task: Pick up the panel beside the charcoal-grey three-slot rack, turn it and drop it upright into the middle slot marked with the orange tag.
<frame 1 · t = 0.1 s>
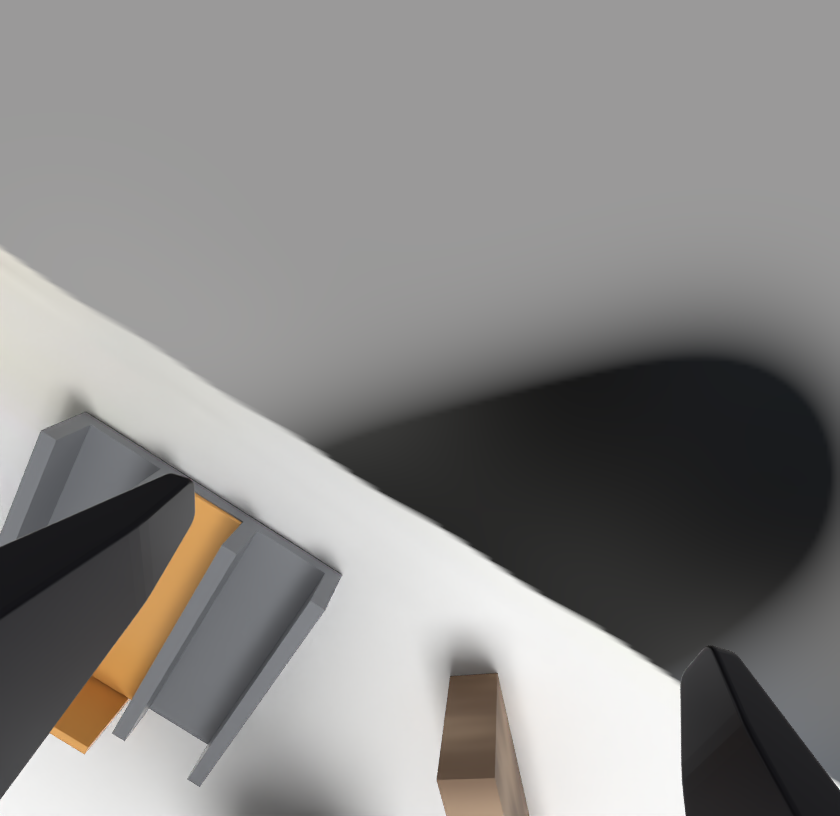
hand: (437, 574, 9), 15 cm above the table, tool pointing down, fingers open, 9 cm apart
rack: (161, 591, 30), on the table
panel: (494, 761, 31), on the table
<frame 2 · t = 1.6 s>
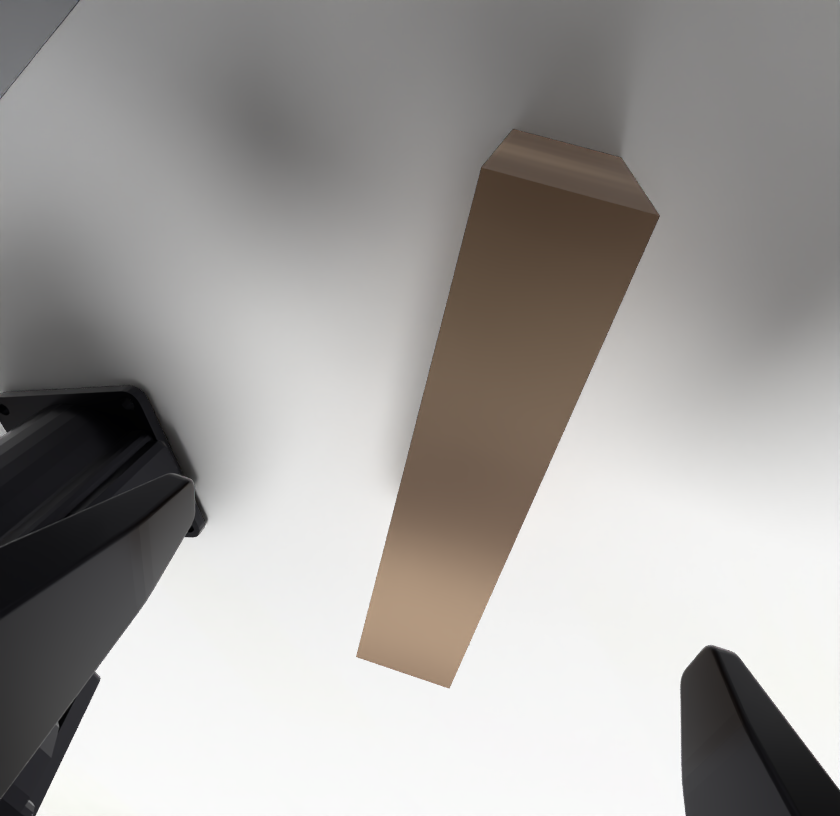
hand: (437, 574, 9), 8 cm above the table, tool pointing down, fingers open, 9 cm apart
panel: (492, 367, 16), on the table
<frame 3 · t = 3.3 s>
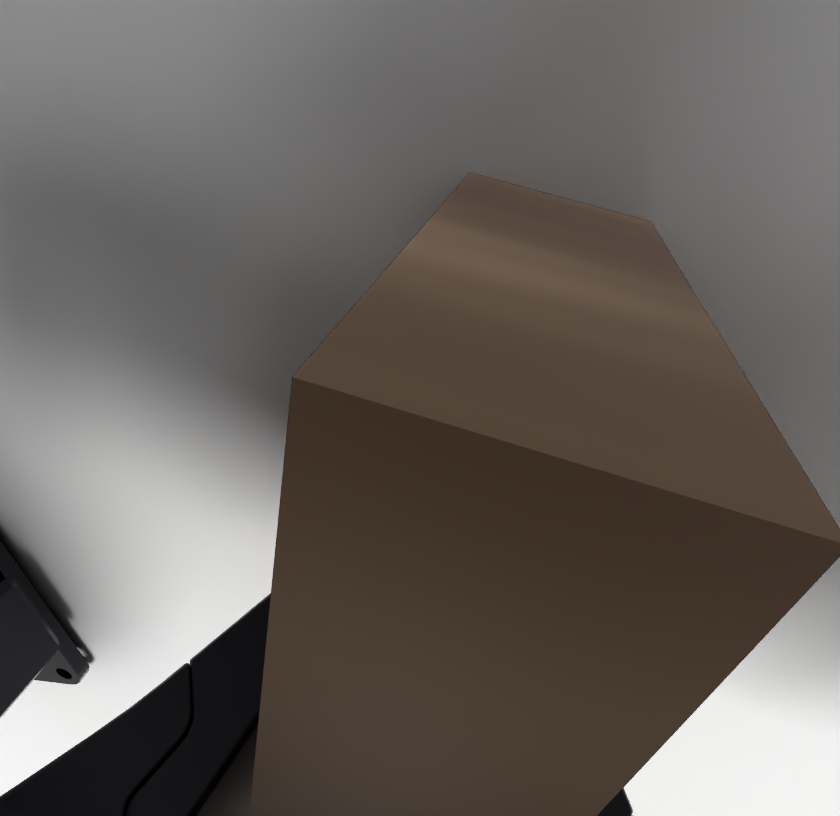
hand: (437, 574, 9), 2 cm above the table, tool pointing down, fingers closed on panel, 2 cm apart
panel: (452, 513, 11), on the table, touching gripper
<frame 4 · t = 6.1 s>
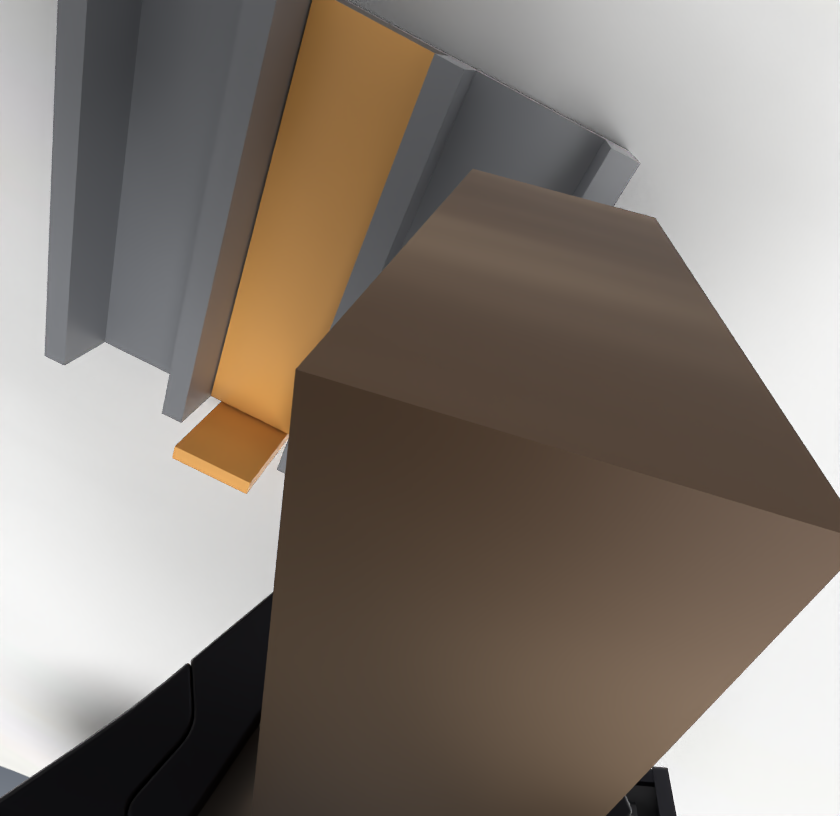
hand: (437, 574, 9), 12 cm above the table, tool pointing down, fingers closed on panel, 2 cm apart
rack: (313, 255, 19), on the table
panel: (454, 512, 11), point 10 cm above the table, touching gripper
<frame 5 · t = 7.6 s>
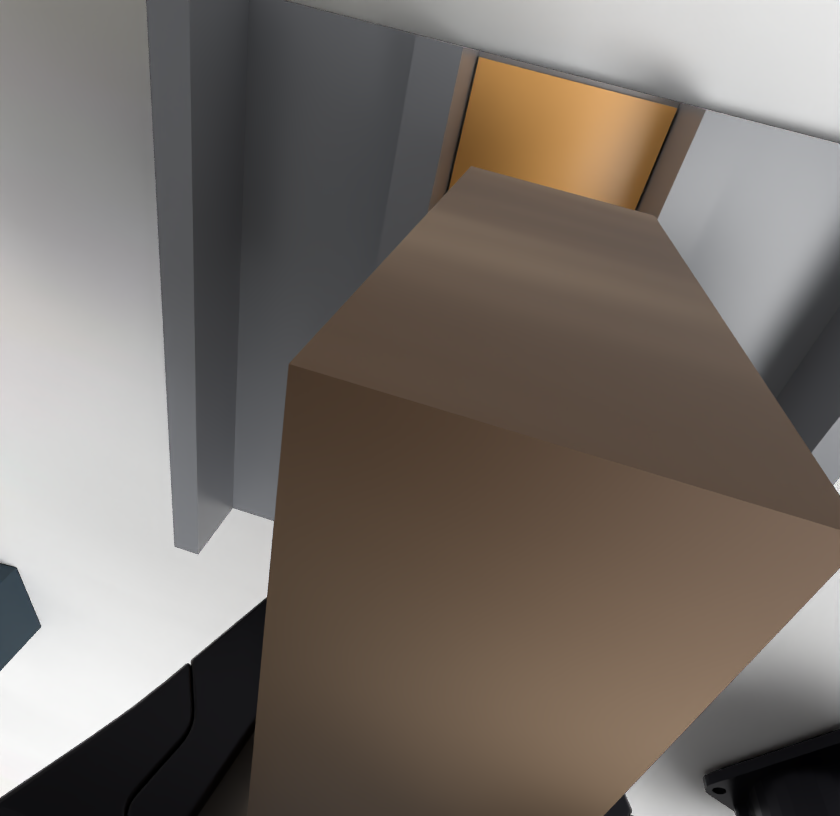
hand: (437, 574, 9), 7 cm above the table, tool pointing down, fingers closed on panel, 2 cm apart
rack: (480, 378, 15), on the table
panel: (452, 511, 11), point 5 cm above the table, touching gripper
when the fingers open (4 cm above the table, at t = 8.8 s): panel drops 1 cm, resting on rack.
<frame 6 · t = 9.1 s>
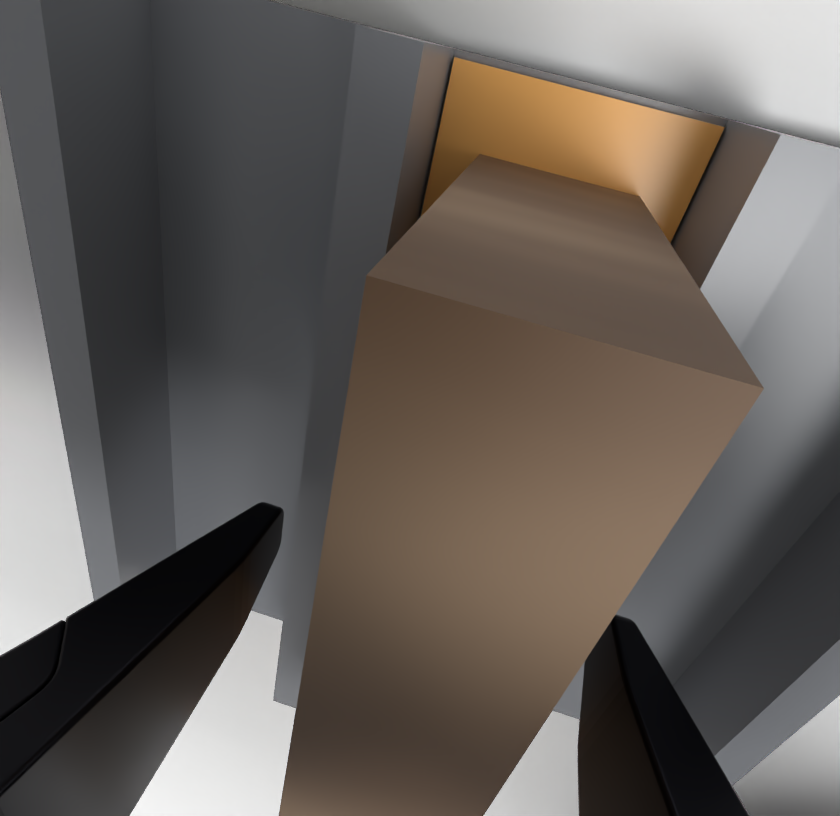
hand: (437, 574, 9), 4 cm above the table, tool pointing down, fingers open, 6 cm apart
rack: (465, 451, 12), on the table
panel: (461, 471, 12), point 1 cm above the table, touching rack
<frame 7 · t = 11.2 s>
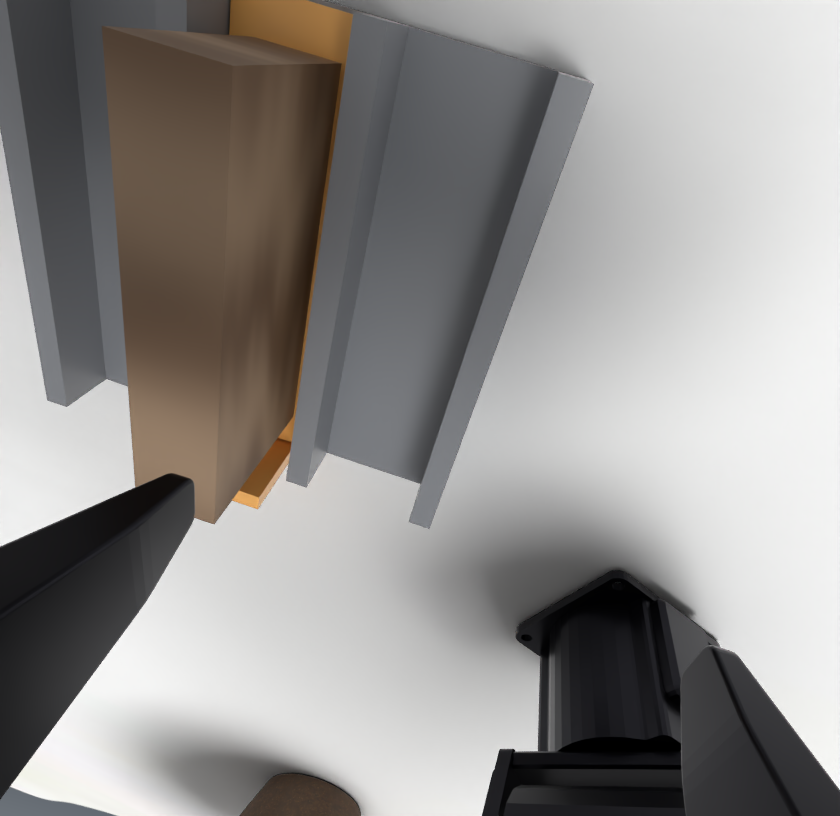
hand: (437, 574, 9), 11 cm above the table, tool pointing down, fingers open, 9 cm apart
rack: (286, 256, 19), on the table
panel: (277, 261, 18), point 1 cm above the table, touching rack
plant pot: (313, 794, 42), on the table
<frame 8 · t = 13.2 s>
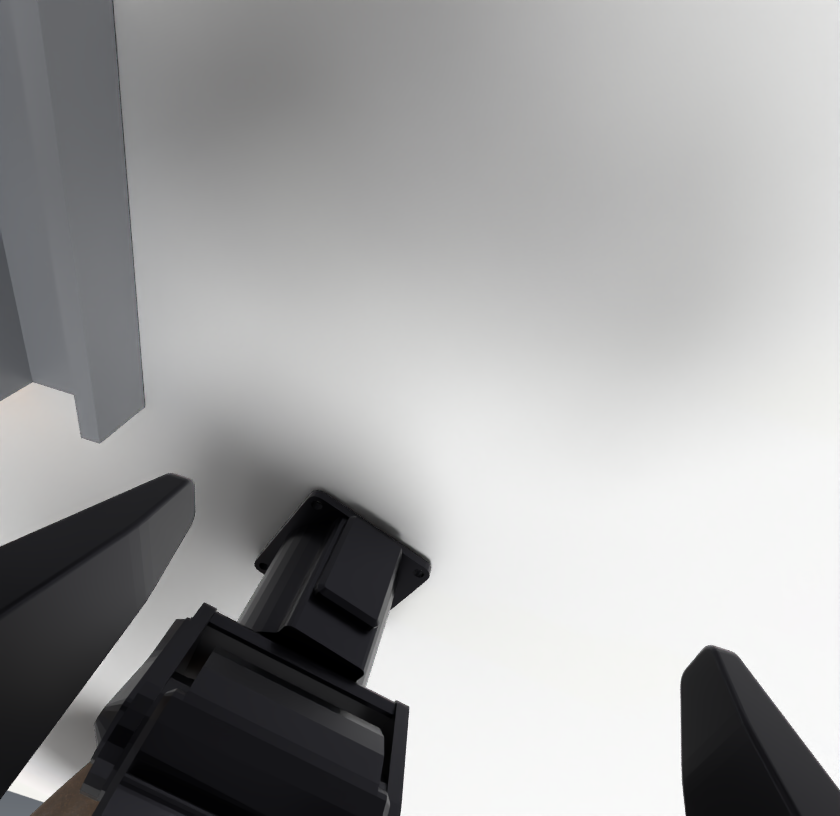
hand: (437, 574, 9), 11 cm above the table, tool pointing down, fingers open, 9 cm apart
plant pot: (162, 755, 42), on the table
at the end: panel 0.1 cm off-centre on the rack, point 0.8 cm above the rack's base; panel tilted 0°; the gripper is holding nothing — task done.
